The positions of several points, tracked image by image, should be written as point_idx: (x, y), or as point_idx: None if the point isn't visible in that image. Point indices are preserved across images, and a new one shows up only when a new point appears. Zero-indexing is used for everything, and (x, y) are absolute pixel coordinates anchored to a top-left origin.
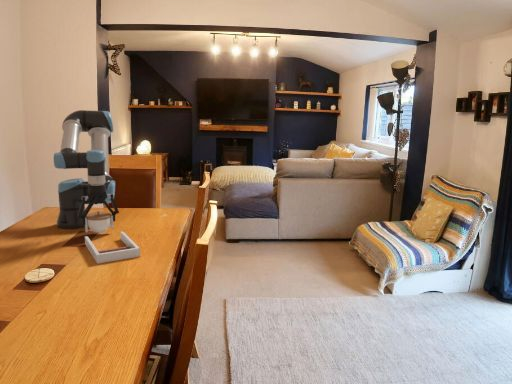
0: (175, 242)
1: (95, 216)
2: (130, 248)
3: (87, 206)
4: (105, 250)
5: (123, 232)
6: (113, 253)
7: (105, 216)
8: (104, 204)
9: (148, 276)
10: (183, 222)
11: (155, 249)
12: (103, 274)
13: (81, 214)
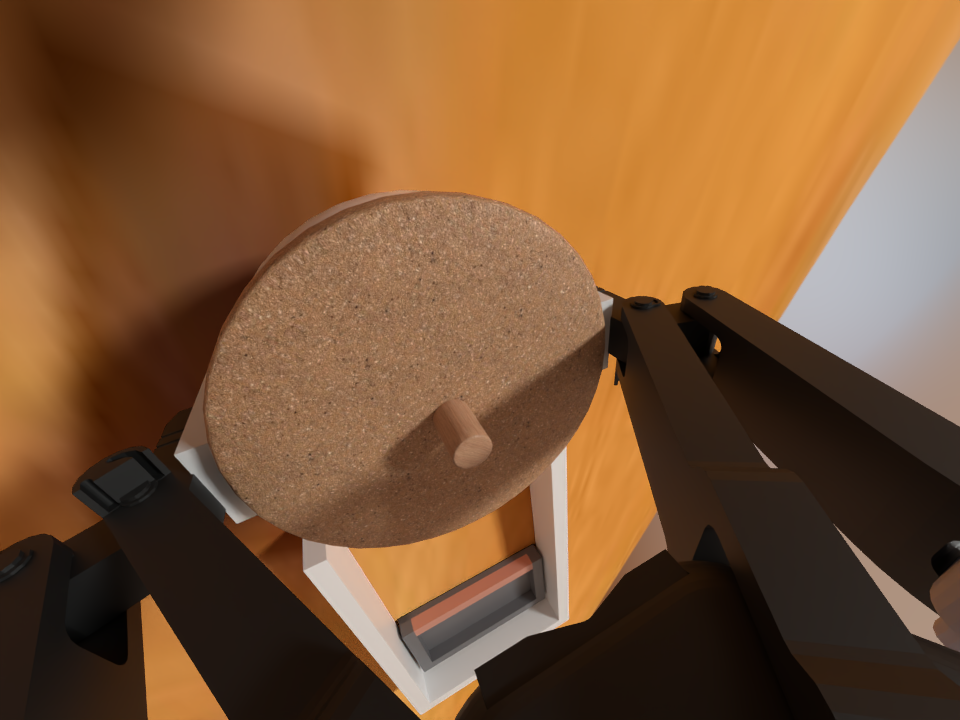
0: None
1: (408, 505)
2: (539, 576)
3: (228, 703)
4: (444, 618)
5: (563, 463)
6: None
7: (529, 480)
8: (679, 478)
9: None
10: (905, 117)
11: (610, 526)
12: (434, 706)
13: (136, 643)
